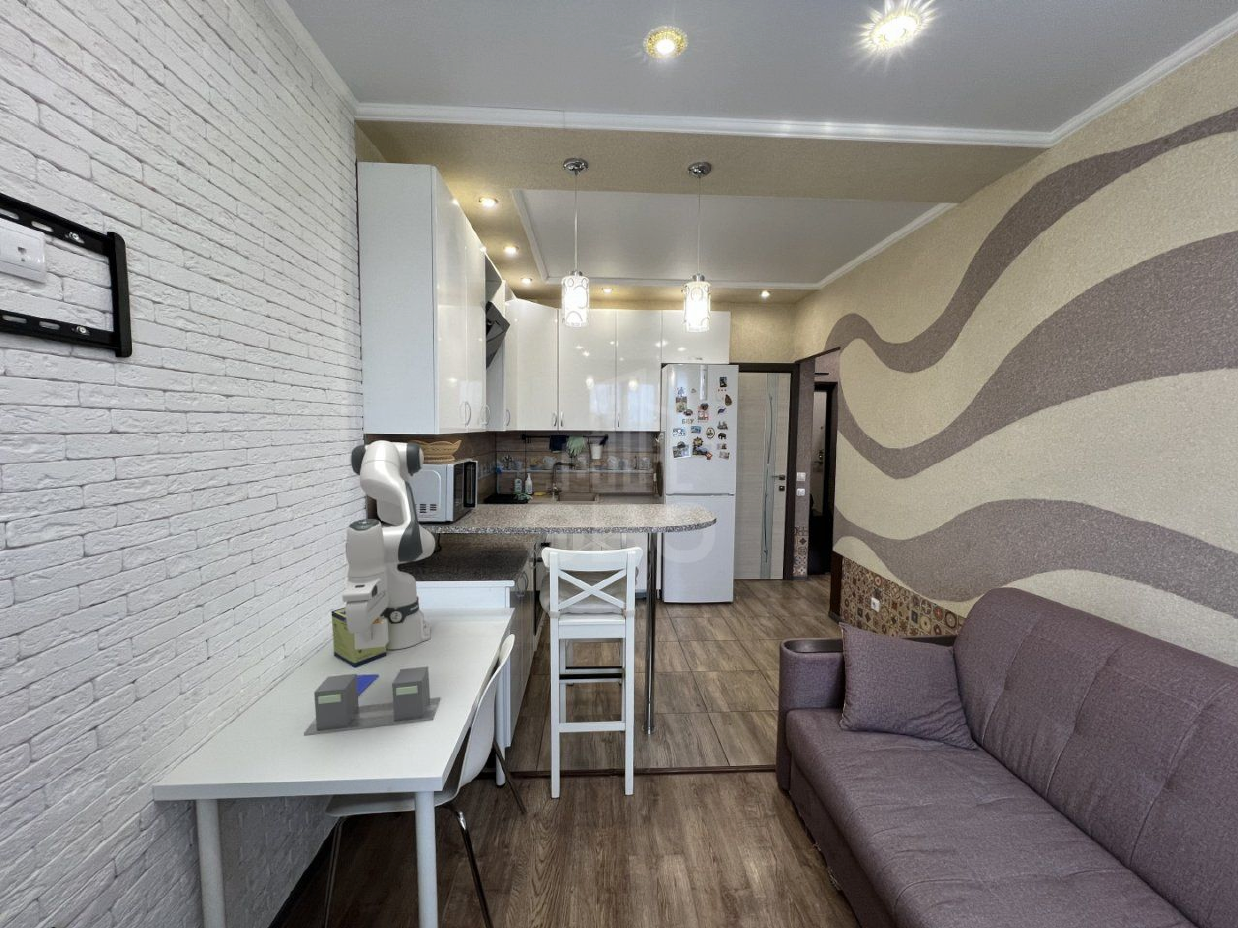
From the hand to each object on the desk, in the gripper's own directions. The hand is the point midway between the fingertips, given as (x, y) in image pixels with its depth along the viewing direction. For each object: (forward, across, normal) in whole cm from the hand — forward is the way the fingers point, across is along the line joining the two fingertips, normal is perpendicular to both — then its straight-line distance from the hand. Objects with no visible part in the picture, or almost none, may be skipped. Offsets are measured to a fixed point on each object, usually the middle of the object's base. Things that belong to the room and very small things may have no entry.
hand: (371, 637), depth 126 cm
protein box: (+21, -40, -17) cm, 48 cm away
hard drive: (+22, -17, -11) cm, 30 cm away
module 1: (+21, 0, -9) cm, 23 cm away
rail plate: (+21, 0, 0) cm, 21 cm away
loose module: (+2, 0, 0) cm, 2 cm away
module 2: (+21, 0, +9) cm, 23 cm away
